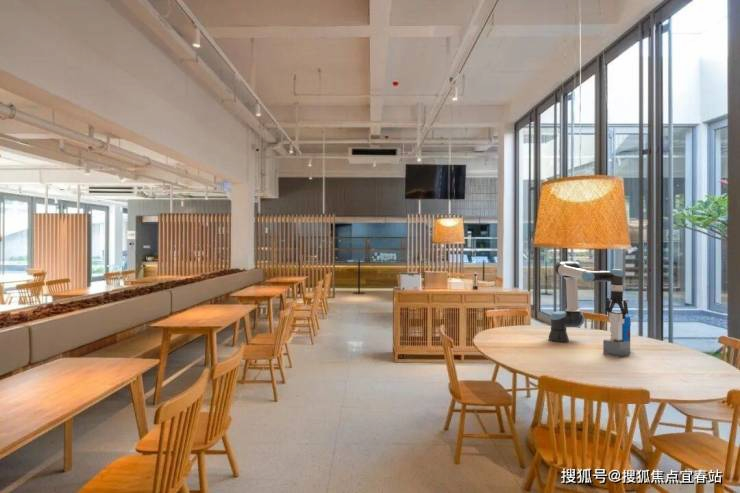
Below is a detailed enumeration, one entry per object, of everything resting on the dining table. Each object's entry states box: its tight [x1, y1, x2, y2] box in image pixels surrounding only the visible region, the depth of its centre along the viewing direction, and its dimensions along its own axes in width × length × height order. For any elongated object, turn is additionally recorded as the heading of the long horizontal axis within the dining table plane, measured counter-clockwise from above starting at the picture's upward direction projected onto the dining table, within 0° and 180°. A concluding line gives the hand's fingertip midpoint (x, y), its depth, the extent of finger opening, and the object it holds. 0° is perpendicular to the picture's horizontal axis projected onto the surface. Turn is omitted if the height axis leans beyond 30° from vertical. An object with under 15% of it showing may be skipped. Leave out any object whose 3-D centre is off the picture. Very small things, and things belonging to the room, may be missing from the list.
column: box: [610, 310, 622, 342], centre depth 298 cm, size 5×6×22 cm
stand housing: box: [602, 337, 631, 358], centre depth 298 cm, size 12×12×11 cm
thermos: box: [622, 314, 631, 342], centre depth 313 cm, size 11×11×25 cm
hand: (616, 322), depth 298 cm, fingers open, 8 cm apart
